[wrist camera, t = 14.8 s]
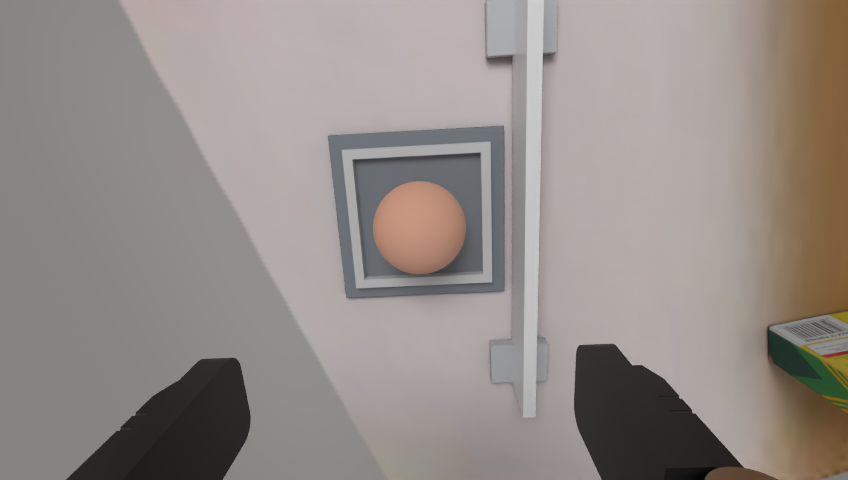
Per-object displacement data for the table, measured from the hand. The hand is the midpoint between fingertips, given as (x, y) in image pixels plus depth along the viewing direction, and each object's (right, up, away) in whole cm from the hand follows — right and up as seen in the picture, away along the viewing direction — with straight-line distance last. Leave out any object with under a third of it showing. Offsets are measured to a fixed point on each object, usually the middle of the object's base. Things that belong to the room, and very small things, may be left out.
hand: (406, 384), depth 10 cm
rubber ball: (0, +4, +15) cm, 15 cm away
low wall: (+7, +5, +18) cm, 20 cm away
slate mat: (0, +5, +18) cm, 19 cm away
